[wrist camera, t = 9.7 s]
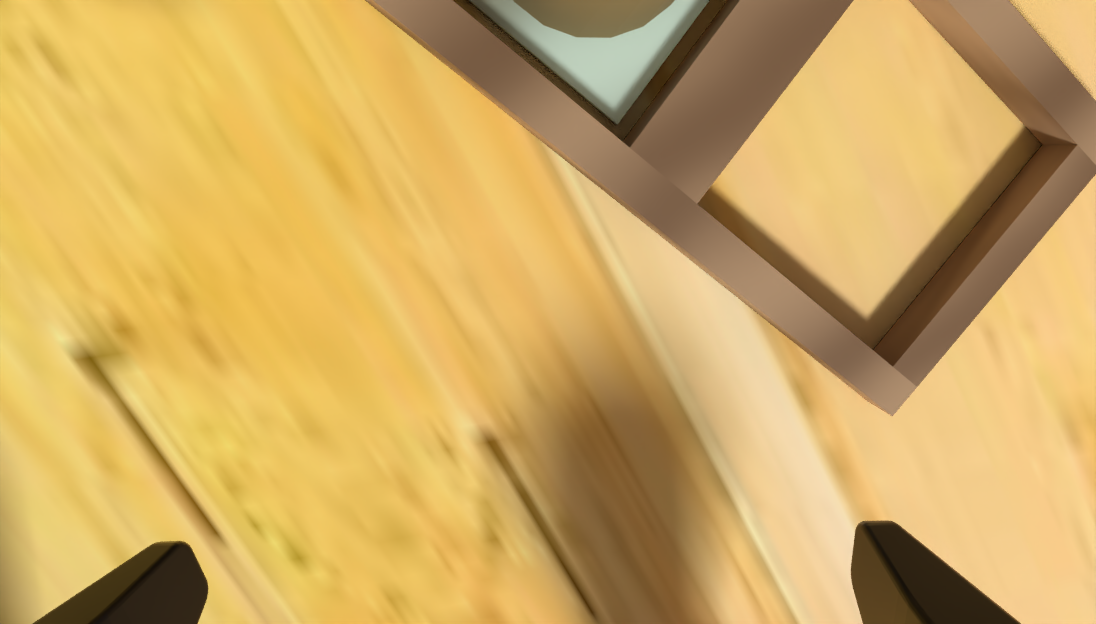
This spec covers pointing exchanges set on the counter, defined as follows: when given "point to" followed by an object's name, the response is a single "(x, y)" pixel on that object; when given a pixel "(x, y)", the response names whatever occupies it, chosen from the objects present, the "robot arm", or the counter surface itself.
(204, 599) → the robot arm
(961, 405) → the counter surface
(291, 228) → the counter surface
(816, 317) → the brown wooden frame
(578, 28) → the cork
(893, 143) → the counter surface
